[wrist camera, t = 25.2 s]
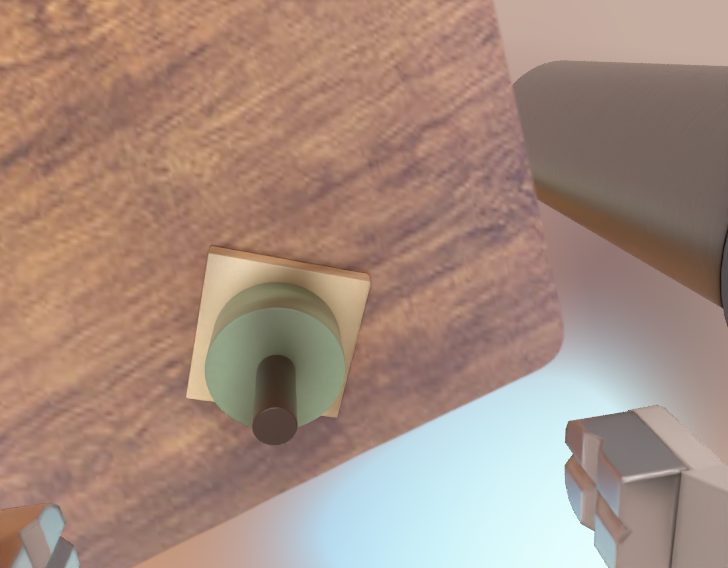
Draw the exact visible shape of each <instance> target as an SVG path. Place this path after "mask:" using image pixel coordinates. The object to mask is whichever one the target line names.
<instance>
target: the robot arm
mask: <svg viewBox="0 0 728 568" xmlns="http://www.w3.org/2000/svg"><path fill="white" fill-rule="evenodd" d="M565 443H566V444H567V446H568V447H569V449H570V450H571V452H572V453H573V455H572V456H571V457H570V459H569V460H568V462H567V463H566V464H565V484H566V489H567V493H568V498H569V501H570V503H571V506H572V508H573V511H574V513H575V514H576V516H577V518H578V519H579V521H580V523H581V524H582V525H584V526H586V527H588V528H590V529H591V530H593V531H595V537H594V546H595V547H596V549H597V550H598V552H599V553H600V555H601V557H602V558H603V560H604V561H605V563H606V565H607V566H608V568H728V464H724V463H723V462H722V461H721V460H720V459H719V458H718V457H717V456H716V455H715V454H714V453H713V452H711V451H710V450H709V449H708V448H707V447H706V446H705V445H704V444H703V443H702V442H701V441H700V440H699V439H698V438H697V437H695V436H694V435H693V434H692V433H691V432H690V431H689V430H688V429H687V428H686V427H685V426H684V425H683V424H682V423H680V422H679V421H678V420H677V419H676V418H675V417H674V416H673V415H672V414H671V413H670V412H669V411H668V410H667V409H666V408H664V407H662V406H659V405H654V406H648V407H643V408H638V409H632V410H628V411H627V412H622V413H615V414H609V415H603V416H597V417H591V418H585V419H579V420H573V421H569V422H568V424H567V427H566V436H565ZM65 524H66V522H65V519H64V517H63V514H62V512H61V510H60V507H59V506H58V505H56V504H54V503H44V504H36V505H29V506H22V507H14V508H7V509H0V568H80V566H79V559H78V555H77V552H76V549H75V547H74V545H73V544H71V543H70V542H68V541H67V540H65V539H64V538H62V537H61V536H60V535H61V532H62V530H63V528H64V526H65Z"/></svg>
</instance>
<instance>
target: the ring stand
mask: <svg viewBox="0 0 728 568" xmlns="http://www.w3.org/2000/svg"><path fill="white" fill-rule="evenodd" d="M370 284H371V281H370V278H369V276H368V274H366V273H360V272H354V271H349V270H343V269H338V268H332V267H326V266H321V265H315V264H310V263H304V262H299V261H293V260H287V259H282V258H276V257H271V256H265V255H260V254H254V253H248V252H243V251H237V250H232V249H226V248H221V247H215V246H211V247H210V250H209V252H208V257H207V264H206V270H205V277H204V283H203V290H202V296H201V303H200V309H199V316H198V322H197V329H196V335H195V342H194V348H193V355H192V361H191V368H190V374H189V381H188V388H187V394H186V398H190V399H198V400H205V401H213V402H215V403H216V404H217V405H218V406H219V408H220V409H221V410H222V411H223V412H224V413H225V414H227V415H228V416H229V417H231V418H232V419H234V420H235V421H237V422H239V423H241V424H243V425H245V426H248V427H251V428H252V429H253V433H254V435H255V436H256V438H257V439H258V440H260V441H261V442H263V443H265V444H268V445H281V444H284V443H286V442H288V441H289V440H291V439H292V438H293V436H294V435H295V434H296V431H297V427H300V426H303V425H305V424H308V423H310V422H311V421H313V420H315V419H317V418H318V417H319V416H328V417H335V418H337V416H338V412H339V408H340V404H341V400H342V396H343V392H344V388H345V384H346V380H347V376H348V372H349V368H350V364H351V360H352V356H353V352H354V348H355V344H356V340H357V336H358V332H359V328H360V324H361V320H362V316H363V312H364V308H365V304H366V300H367V296H368V292H369V288H370Z"/></svg>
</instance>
